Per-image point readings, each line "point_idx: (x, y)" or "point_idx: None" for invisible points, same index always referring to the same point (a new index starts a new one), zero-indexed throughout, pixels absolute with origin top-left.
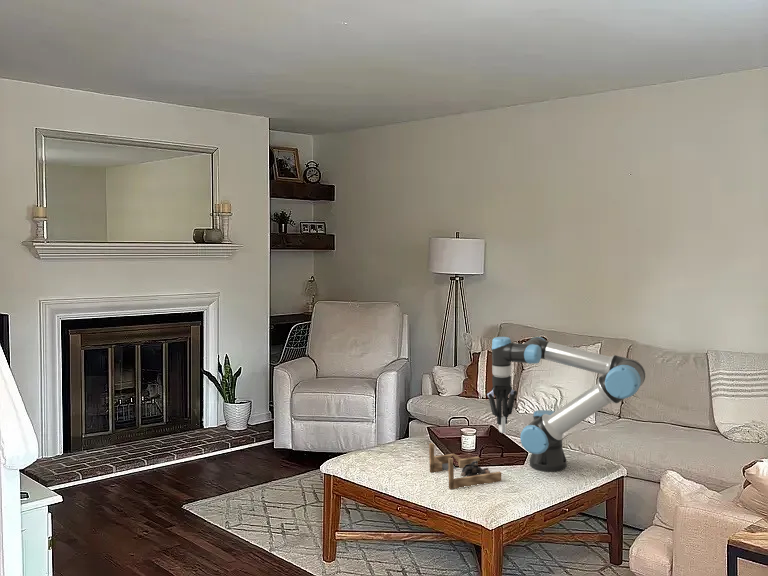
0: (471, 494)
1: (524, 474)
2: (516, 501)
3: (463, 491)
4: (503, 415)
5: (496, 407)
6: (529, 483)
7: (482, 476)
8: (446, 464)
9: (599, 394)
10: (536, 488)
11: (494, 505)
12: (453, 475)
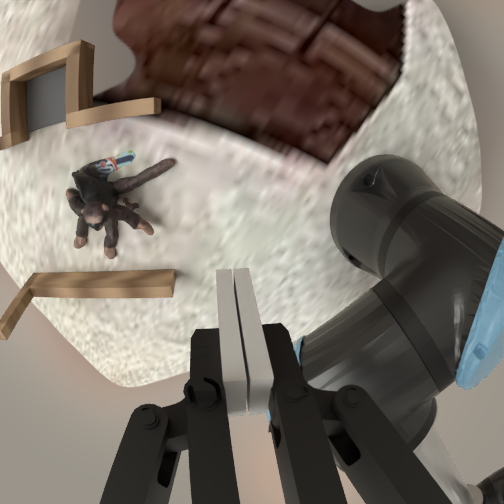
0: (80, 322)
1: (273, 252)
2: (169, 374)
3: (64, 302)
4: (271, 399)
5: (191, 492)
6: None
7: (107, 296)
8: (53, 81)
9: None
10: None
11: (121, 373)
12: (27, 305)
